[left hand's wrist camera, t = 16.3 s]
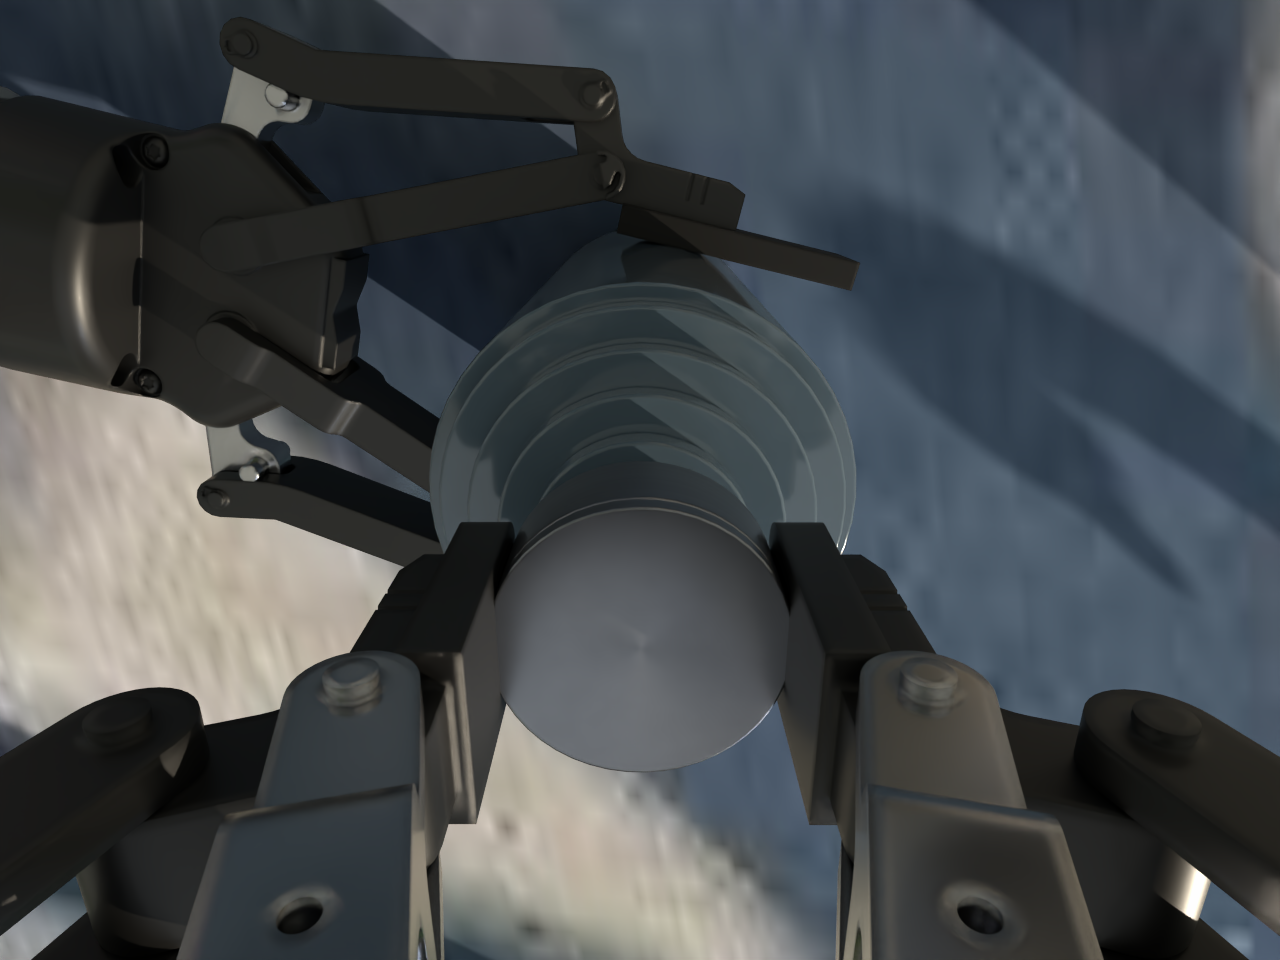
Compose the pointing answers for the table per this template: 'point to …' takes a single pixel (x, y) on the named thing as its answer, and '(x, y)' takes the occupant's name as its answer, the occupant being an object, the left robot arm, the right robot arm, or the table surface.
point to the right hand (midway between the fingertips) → (797, 414)
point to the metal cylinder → (641, 619)
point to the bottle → (643, 395)
